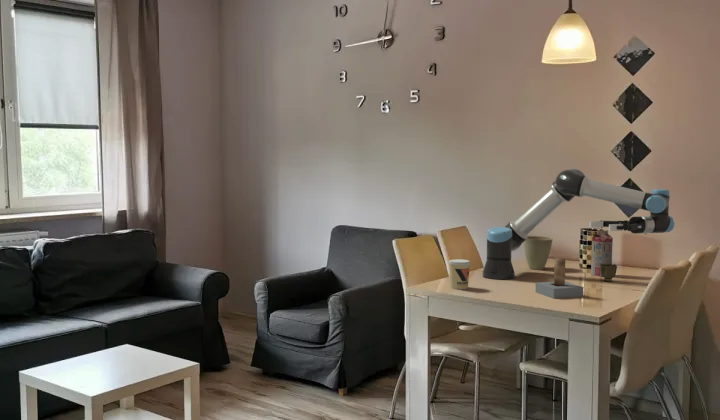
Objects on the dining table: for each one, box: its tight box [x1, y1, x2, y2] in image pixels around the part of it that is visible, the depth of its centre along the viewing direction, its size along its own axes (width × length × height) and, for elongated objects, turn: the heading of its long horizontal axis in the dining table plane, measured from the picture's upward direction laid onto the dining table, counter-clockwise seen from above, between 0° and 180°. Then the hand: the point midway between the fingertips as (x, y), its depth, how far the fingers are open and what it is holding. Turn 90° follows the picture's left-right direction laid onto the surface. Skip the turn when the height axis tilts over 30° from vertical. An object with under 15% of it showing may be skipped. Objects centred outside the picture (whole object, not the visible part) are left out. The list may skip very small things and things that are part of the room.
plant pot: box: [522, 235, 553, 270], centre depth 360 cm, size 15×15×16 cm
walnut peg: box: [553, 257, 566, 286], centre depth 294 cm, size 4×4×14 cm
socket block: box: [535, 281, 584, 299], centre depth 294 cm, size 14×14×4 cm
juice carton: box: [590, 229, 614, 278], centre depth 340 cm, size 7×7×22 cm
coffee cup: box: [448, 258, 471, 290], centre depth 307 cm, size 9×9×12 cm
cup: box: [600, 263, 618, 283], centre depth 325 cm, size 8×7×8 cm
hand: (599, 226), depth 302 cm, fingers open, 13 cm apart
